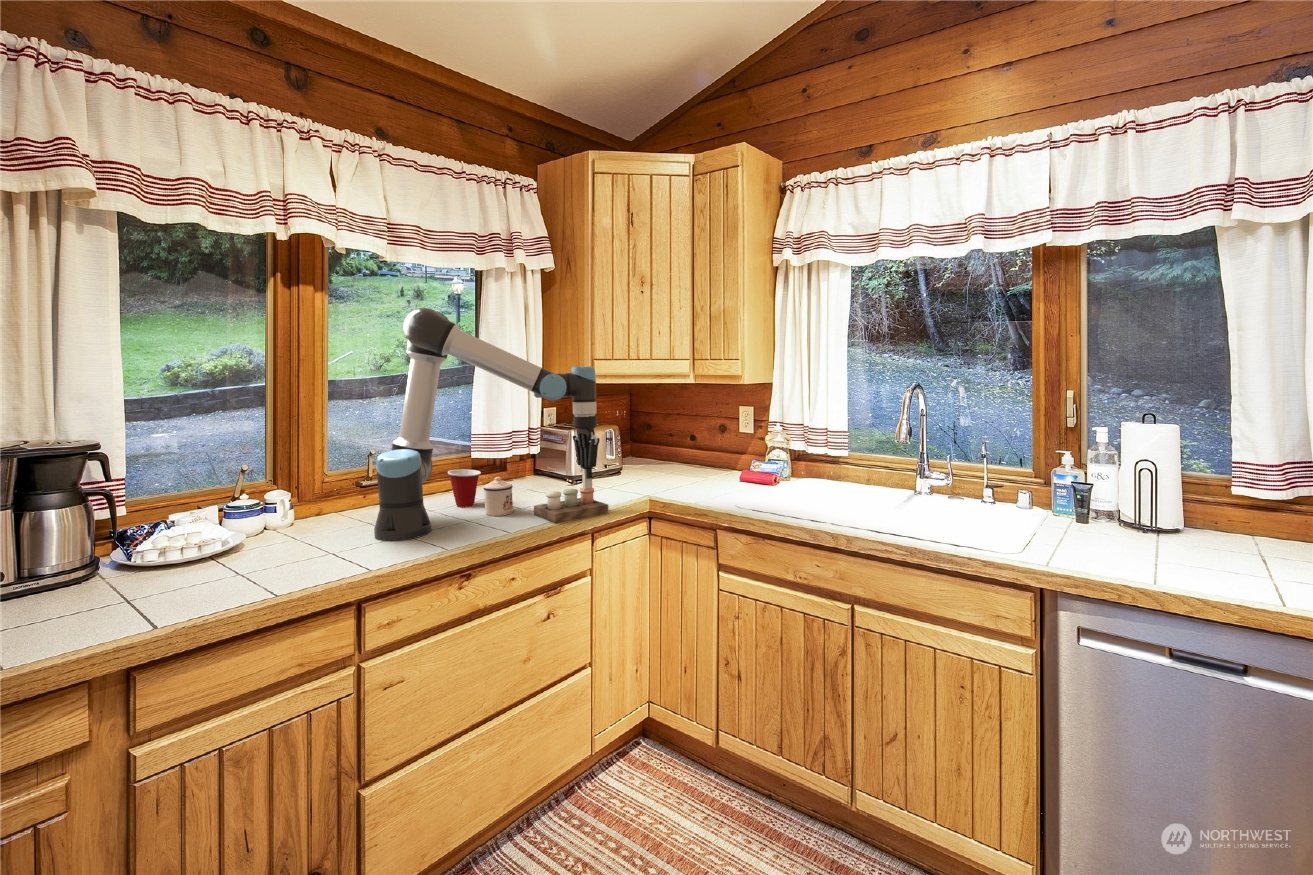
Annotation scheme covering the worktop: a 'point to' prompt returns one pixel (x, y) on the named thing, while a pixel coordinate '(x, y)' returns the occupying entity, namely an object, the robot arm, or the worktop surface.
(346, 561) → the worktop surface
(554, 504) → the cream button
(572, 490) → the sage button
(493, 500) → the teacup with lid
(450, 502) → the worktop surface
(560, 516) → the button board
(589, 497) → the pink short cylinder
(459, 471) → the plastic cup
